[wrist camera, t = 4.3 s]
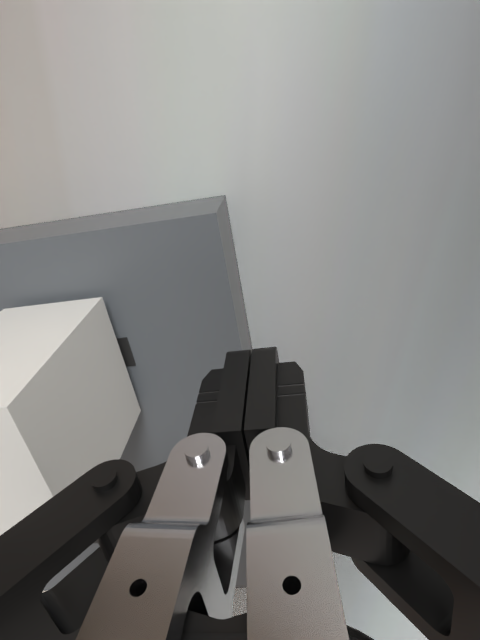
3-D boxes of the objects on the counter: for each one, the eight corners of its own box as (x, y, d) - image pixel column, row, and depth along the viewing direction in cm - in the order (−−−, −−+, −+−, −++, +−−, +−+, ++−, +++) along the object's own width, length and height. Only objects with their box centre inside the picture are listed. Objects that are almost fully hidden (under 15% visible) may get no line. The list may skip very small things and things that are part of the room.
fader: (102, 296, 14) (6, 407, 9) (141, 410, 16) (80, 549, 11) (3, 309, 15) (-137, 419, 10) (53, 417, 17) (-40, 552, 12)
